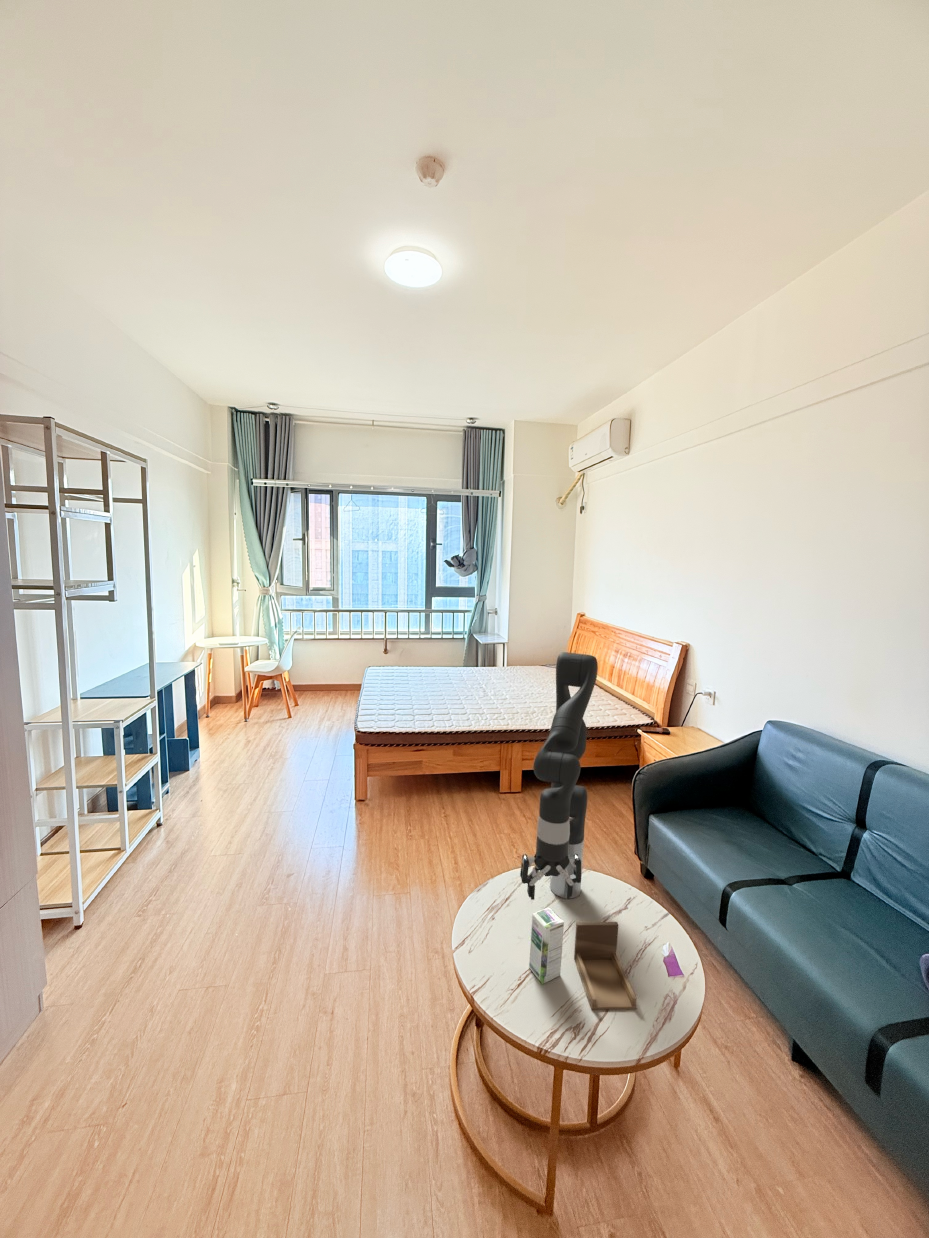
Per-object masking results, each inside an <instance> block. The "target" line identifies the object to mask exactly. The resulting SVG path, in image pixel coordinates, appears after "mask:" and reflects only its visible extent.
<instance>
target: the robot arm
mask: <svg viewBox="0 0 929 1238" xmlns="http://www.w3.org/2000/svg"><path fill="white" fill-rule="evenodd" d="M598 666H599V665H598V658H596V656H594V655H591V654H584V653H576V652H575V653H574V652H566V651H564V652H560V653H559V654H558V656H557V659H556V664H555V695H556V696H555V697H556V705H555V714H554V716H553V718H552V723H551V726H550V730H549V734H548V737H547V738H546V740H545V742H544V743H543V745H542V746H541V748H540V749H539V750H538V752H537V754H536V756H535V758H534V761H533V768H532V769H533V773H534V776H535V777H536V778H537V779H538V780H540V781H542V782H548V783H551V784H550V786H551V787H550V788H545V789H543V790H542V791H541V793H540V795H539V796H540V797H539V811H538V819H537V825H536V826H537V827H536V844H535V854H534V855H533V856H528V855H527V854H526V853H524V854H522V856H521V857H522V858H521V865H520V873H519V875H520V876H519V877H520V879H521V883H522V884H527V895H528V898H530V900H532V901H533V900H535V896H536V895H535V892H536V885H535V884H536V883H537V882H538V881H540V880H541V879H542V878H543V877H550V880H549V888H550V890H551V892H552V893H553V894H555V896H558V898H559V897H560V898H563V899H566V900H570V899H574V898H577V897H579V895H580V894H581V888H582V887H581V885H582V873H583V861H584V860H583V857H584V843H585V824H586V814H587V809H588V791H587V788H586V787H585V786H582V785H577V784H576V783H577V782H578V780H579V777H580V774H581V763H580V760H581V759H582V757H583V756H584V754H585V752H586V749H587V737H588V735H587V734H588V728H587V724H586V723H585V720H584V716H585V713H586V710H587V708H588V705H589V702H590V700H591V697H592V695H593V692H594V688H595V685H596V682H597V678H598V668H599V667H598ZM570 687H574V688H578V690H577V692H575V694H573V695H572V696H571V692H570ZM532 864H534V866H533V867H532V870H531V872H529V869H530V868H531V866H532Z"/></svg>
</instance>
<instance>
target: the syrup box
mask: <svg viewBox="0 0 929 1238" xmlns="http://www.w3.org/2000/svg"><path fill="white" fill-rule="evenodd" d="M530 927H531V929H530V930H531V932H530V945H529V946H530V948H529V962H528V968H529V969H530V970H531V972H532V973H533V974H534V976H536V978H537V979H538V981H540V983H541V984H542V985H544V984H546V983H548V982H549V981H551V980H553V979H556V978H557V977H559V976H561V971H562V968H561V967H562V954H563V941H564V928H565V921H564V920H563V919H561V918H560V916H559V915H558V914H557V913H556V912H555V911H554V910H553V909H552V908H551V907H546V908H543V909H541V910H540V909H539V910H538V911H536V912H534V913H532V915H531V926H530Z"/></svg>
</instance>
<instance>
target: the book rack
mask: <svg viewBox="0 0 929 1238" xmlns="http://www.w3.org/2000/svg"><path fill="white" fill-rule="evenodd" d="M575 923H576V924H575V925H576V926H575V939H574V953H573V961H574V964H575V966H576V969H577V973H578V974H579V978H580V980H581V983H582V987H583V990H584V992H585V995H586V998H587V999H586V1000H587V1001H588V1005H589V1007H590V1010H591V1011H594V1010H596V1011H598V1010H599V1011H600V1010H605V1011H606V1010H635V1009H636V1010H637V997H636V995H635V993H634V990H633V988H632V986H631V983H630V981H629V979H628V977H627V974H626V972H625V970H624V968H623V965H622V963H621V961H620V959H619V957H618V955H617V948H618V947H617V946H618V937H619V936H618V934H619V933H618V932H619V923H618V921H577V922H575Z"/></svg>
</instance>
